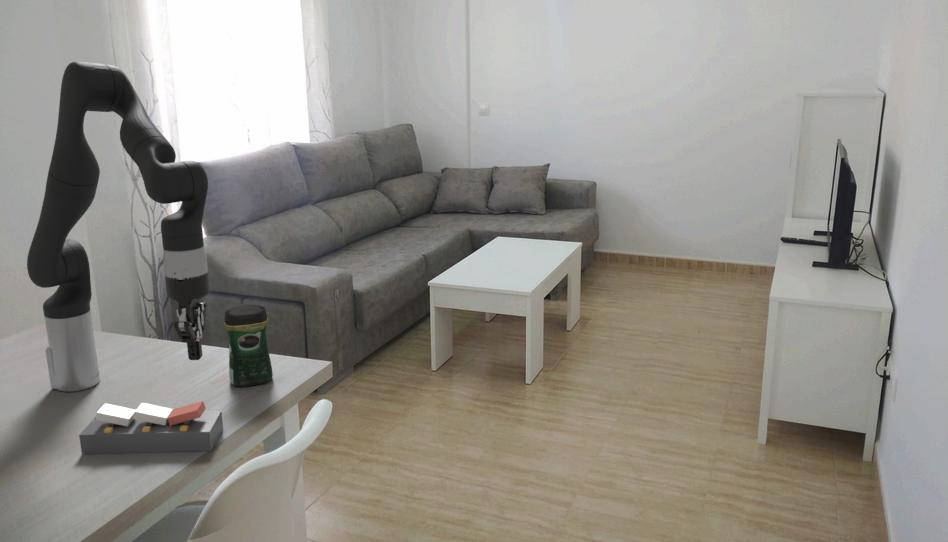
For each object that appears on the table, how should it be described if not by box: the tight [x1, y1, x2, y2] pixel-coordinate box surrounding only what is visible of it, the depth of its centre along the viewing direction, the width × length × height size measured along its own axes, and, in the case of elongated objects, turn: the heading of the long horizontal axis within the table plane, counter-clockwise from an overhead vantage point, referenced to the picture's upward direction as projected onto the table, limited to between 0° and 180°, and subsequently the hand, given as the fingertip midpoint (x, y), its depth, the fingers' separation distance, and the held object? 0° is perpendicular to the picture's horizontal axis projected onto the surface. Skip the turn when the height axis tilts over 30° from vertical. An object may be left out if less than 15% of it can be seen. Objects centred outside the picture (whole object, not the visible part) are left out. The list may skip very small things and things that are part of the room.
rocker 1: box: [95, 402, 136, 426], centre depth 150 cm, size 6×4×2 cm, turn 94°
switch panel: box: [78, 410, 224, 455], centre depth 151 cm, size 24×9×5 cm, turn 93°
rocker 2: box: [133, 402, 174, 426], centre depth 150 cm, size 6×4×2 cm, turn 94°
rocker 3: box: [167, 401, 207, 425], centre depth 151 cm, size 6×4×2 cm, turn 93°
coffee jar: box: [223, 301, 274, 388], centre depth 178 cm, size 10×8×19 cm
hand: (195, 358), depth 148 cm, fingers closed
